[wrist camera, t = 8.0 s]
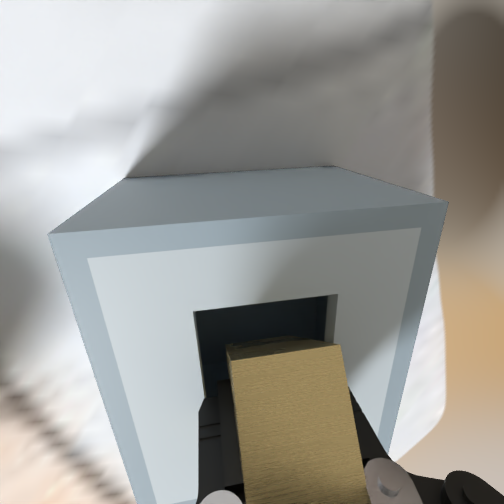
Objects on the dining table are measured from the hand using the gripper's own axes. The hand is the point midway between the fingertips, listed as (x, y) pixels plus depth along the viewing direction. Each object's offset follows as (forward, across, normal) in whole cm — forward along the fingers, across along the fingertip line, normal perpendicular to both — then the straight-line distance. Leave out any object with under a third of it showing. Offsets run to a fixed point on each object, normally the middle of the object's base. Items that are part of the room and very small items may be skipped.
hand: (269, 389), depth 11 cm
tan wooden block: (0, 0, -2) cm, 2 cm away
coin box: (+9, 0, 0) cm, 9 cm away
